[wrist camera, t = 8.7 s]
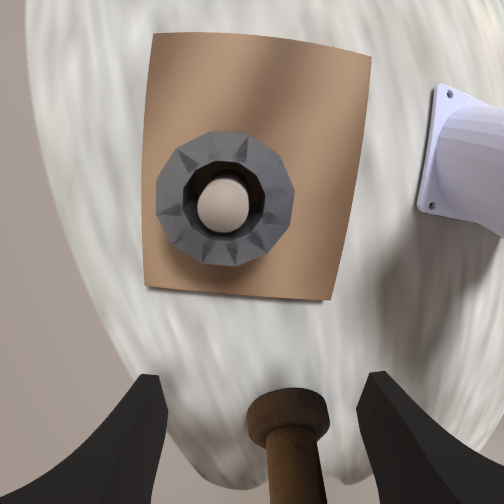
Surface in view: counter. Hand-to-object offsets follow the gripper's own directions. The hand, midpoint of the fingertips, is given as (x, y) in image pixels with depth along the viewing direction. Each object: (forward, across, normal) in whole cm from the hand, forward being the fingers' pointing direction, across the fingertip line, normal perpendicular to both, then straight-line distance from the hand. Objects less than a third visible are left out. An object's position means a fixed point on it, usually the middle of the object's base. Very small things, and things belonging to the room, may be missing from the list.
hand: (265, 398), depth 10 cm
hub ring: (+8, +2, -5) cm, 10 cm away
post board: (+9, 0, -6) cm, 11 cm away
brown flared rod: (+10, -3, +13) cm, 17 cm away
